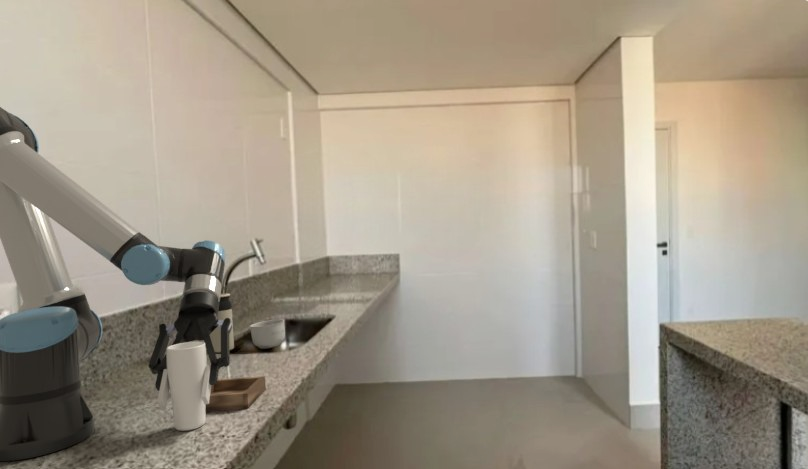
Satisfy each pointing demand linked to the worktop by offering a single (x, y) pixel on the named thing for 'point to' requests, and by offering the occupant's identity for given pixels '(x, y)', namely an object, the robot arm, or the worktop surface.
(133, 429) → the worktop surface
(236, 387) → the walnut tray
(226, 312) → the travel mug
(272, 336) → the teacup
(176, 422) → the white tumbler cup
